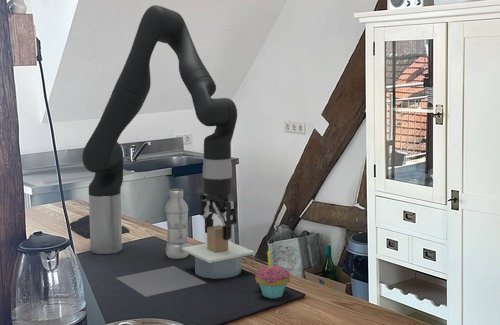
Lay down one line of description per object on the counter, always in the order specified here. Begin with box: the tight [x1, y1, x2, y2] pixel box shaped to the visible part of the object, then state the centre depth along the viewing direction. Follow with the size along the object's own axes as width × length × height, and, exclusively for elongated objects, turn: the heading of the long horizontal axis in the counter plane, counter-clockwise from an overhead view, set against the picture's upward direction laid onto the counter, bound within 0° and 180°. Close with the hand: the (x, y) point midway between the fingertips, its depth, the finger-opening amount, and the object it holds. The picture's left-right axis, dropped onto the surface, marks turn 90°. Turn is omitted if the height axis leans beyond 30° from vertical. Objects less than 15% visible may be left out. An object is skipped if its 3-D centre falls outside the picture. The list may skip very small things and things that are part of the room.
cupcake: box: [254, 248, 291, 299], centre depth 157 cm, size 9×8×12 cm
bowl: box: [194, 256, 242, 280], centre depth 173 cm, size 12×12×6 cm
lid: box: [181, 224, 256, 263], centre depth 172 cm, size 14×14×7 cm
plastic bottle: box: [164, 188, 190, 260], centre depth 185 cm, size 6×7×20 cm
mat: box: [115, 265, 207, 298], centre depth 165 cm, size 17×17×1 cm
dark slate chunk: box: [69, 214, 130, 240], centre depth 219 cm, size 15×22×5 cm
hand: (217, 236), depth 172 cm, fingers open, 8 cm apart
